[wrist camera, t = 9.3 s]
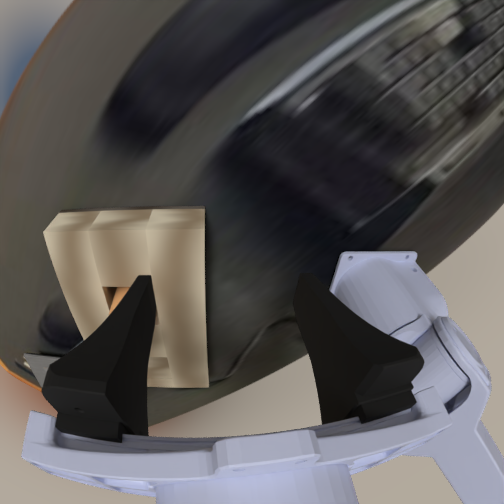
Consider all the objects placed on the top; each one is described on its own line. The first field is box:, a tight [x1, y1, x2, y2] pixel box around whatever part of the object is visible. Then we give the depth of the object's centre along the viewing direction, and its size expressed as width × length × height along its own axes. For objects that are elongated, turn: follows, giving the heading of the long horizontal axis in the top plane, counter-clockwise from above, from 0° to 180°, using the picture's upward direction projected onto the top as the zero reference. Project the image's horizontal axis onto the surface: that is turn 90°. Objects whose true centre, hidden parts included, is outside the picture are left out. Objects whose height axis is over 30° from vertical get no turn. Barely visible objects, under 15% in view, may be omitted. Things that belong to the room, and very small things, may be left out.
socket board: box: [43, 206, 209, 388], centre depth 24 cm, size 12×20×4 cm, turn 175°
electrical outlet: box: [24, 353, 61, 387], centre depth 31 cm, size 13×10×2 cm
